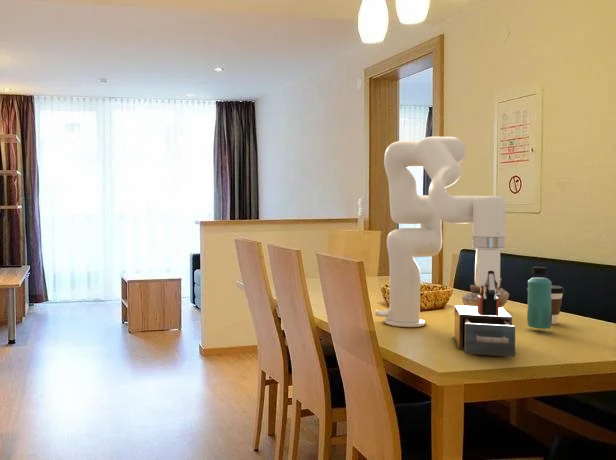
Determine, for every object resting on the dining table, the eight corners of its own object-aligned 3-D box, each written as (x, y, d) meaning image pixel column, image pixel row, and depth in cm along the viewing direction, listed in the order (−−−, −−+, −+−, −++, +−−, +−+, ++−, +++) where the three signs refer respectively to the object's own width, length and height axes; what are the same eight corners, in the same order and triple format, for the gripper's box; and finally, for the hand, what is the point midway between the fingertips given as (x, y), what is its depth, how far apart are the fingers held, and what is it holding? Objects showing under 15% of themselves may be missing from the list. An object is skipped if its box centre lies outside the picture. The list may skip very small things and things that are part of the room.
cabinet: (511, 352, 152) (512, 316, 152) (459, 349, 156) (459, 314, 156) (502, 340, 166) (502, 307, 166) (454, 337, 170) (454, 305, 170)
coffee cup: (546, 318, 197) (547, 283, 197) (572, 325, 187) (573, 288, 186) (518, 319, 195) (519, 284, 195) (543, 326, 185) (543, 289, 184)
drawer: (518, 362, 140) (519, 330, 140) (467, 358, 144) (467, 327, 143) (505, 344, 157) (505, 316, 157) (459, 341, 161) (460, 314, 161)
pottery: (514, 310, 213) (514, 278, 212) (491, 320, 195) (491, 285, 194) (481, 307, 220) (481, 275, 220) (456, 316, 203) (457, 282, 202)
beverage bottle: (555, 334, 174) (556, 268, 173) (531, 333, 175) (532, 267, 174) (546, 329, 180) (547, 265, 179) (523, 328, 181) (524, 265, 181)
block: (479, 315, 149) (479, 297, 149) (477, 312, 153) (477, 295, 153) (498, 316, 147) (498, 298, 147) (495, 312, 152) (496, 295, 152)
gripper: (468, 241, 159) (468, 307, 160) (476, 245, 143) (475, 318, 144) (499, 241, 156) (498, 308, 157) (510, 245, 140) (509, 320, 141)
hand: (487, 312), depth 150 cm, fingers closed on block, 4 cm apart
